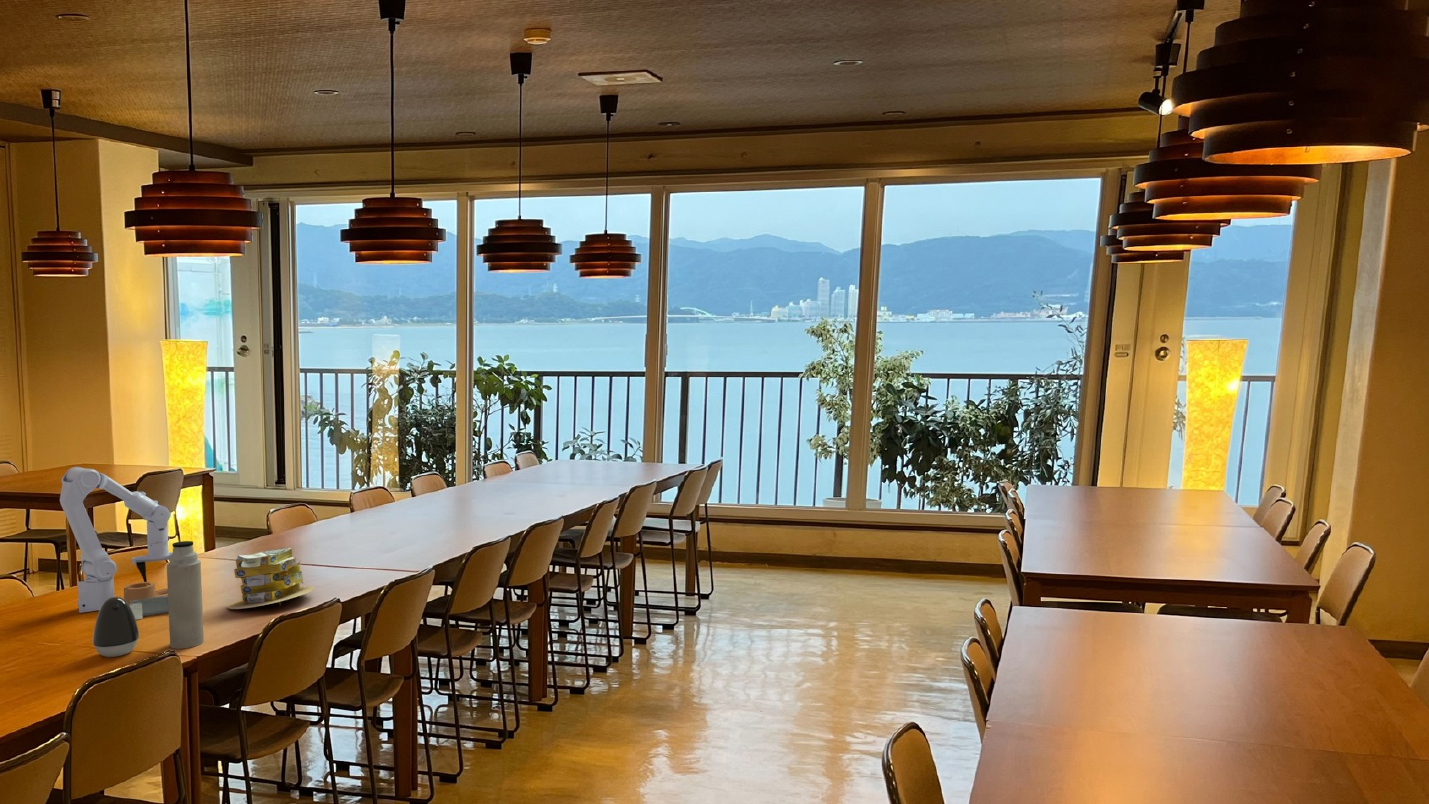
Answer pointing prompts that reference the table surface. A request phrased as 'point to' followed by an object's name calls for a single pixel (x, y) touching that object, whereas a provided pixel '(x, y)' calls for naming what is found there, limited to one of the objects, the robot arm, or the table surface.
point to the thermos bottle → (184, 597)
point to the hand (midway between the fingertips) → (159, 582)
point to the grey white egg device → (115, 628)
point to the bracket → (142, 591)
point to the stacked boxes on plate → (268, 578)
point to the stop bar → (149, 606)
